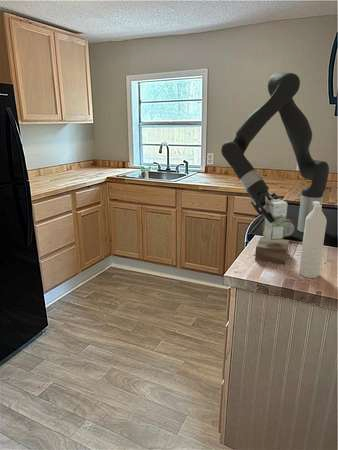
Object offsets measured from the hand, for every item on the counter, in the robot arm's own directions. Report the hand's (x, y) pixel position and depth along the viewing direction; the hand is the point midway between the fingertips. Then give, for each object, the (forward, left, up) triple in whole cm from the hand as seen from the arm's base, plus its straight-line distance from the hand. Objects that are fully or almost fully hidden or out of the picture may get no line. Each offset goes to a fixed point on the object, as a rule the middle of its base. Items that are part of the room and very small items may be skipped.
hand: (278, 219), depth 122 cm
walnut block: (0, -1, -16) cm, 16 cm away
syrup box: (0, -2, -8) cm, 8 cm away
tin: (-22, -11, -16) cm, 30 cm away
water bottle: (+3, +15, -16) cm, 22 cm away
